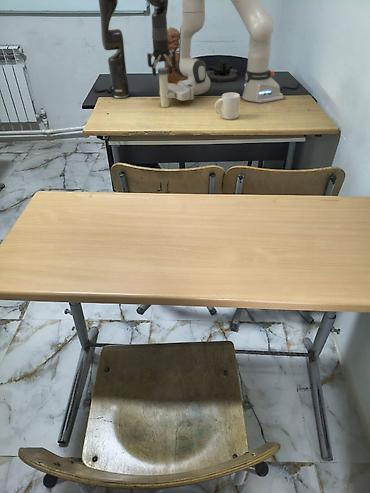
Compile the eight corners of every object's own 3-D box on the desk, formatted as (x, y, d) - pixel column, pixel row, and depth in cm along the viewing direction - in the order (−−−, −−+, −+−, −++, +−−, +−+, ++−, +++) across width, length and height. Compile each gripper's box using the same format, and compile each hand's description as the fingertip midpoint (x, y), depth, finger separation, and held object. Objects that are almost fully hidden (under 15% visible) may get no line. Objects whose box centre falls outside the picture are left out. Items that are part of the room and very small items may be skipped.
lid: (156, 72, 183) (156, 68, 181) (166, 71, 184) (166, 67, 182) (159, 74, 179) (159, 70, 178) (169, 73, 180) (169, 69, 179)
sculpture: (197, 88, 213) (196, 30, 194) (156, 89, 214) (152, 31, 194) (196, 75, 234) (196, 22, 215) (159, 76, 235) (156, 23, 215)
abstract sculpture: (205, 66, 215) (198, 59, 231) (204, 82, 221) (198, 74, 236) (245, 63, 218) (236, 56, 233) (243, 79, 224) (235, 71, 239)
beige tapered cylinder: (166, 104, 194) (164, 68, 183) (170, 106, 191) (168, 70, 180) (159, 105, 192) (157, 70, 181) (163, 107, 190) (161, 72, 178)
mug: (215, 121, 173) (216, 99, 166) (212, 114, 179) (213, 93, 173) (240, 119, 174) (241, 97, 167) (235, 113, 180) (237, 91, 174)
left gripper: (147, 41, 167) (151, 78, 177) (176, 38, 170) (178, 75, 181) (143, 38, 172) (147, 74, 183) (172, 35, 175) (173, 71, 186)
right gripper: (173, 79, 198) (151, 83, 192) (195, 87, 185) (173, 93, 179) (173, 90, 202) (152, 96, 196) (195, 100, 189) (173, 105, 183)
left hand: (162, 74), depth 182 cm, fingers open, 7 cm apart
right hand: (162, 94), depth 188 cm, fingers closed on beige tapered cylinder, 4 cm apart
